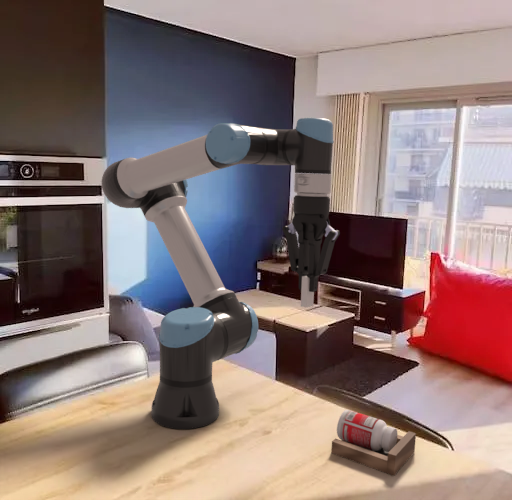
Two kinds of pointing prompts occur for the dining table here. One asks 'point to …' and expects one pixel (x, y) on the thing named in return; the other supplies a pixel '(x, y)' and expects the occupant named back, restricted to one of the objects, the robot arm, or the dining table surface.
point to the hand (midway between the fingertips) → (307, 305)
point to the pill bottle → (366, 431)
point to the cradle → (378, 453)
